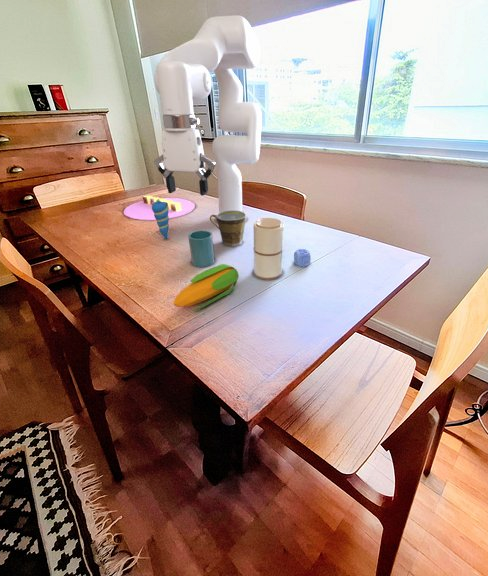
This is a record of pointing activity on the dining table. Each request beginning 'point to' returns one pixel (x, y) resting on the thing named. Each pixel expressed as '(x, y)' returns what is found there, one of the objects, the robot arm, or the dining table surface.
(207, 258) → the teal cup
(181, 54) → the robot arm
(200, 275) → the corn
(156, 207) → the ornament
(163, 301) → the dining table surface
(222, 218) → the ceramic cup
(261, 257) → the cup stack
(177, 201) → the platter
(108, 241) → the dining table surface
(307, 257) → the decorative dice
